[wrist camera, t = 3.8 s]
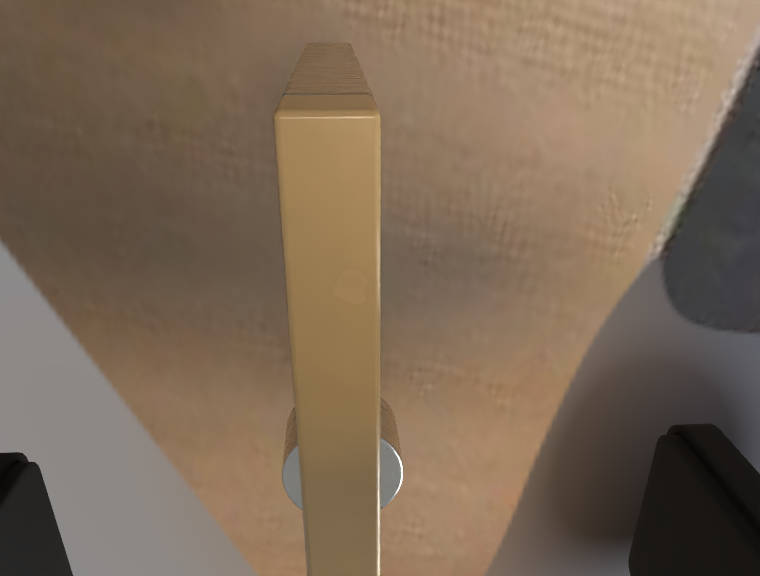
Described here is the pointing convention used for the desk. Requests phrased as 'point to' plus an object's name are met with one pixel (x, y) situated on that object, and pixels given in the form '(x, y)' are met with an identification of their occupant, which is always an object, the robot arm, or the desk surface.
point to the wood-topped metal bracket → (335, 311)
